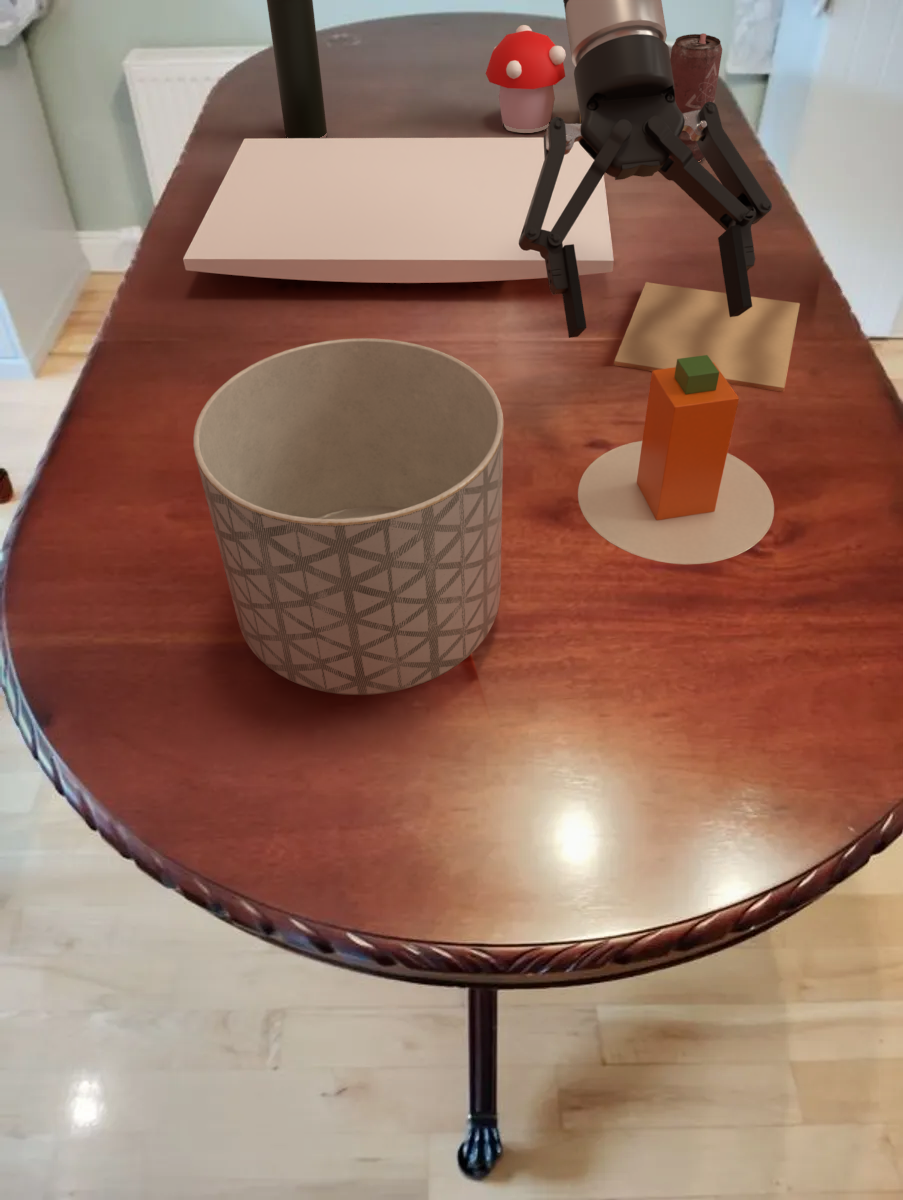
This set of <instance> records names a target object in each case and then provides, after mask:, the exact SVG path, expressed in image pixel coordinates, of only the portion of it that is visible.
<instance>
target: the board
mask: <svg viewBox="0 0 903 1200" xmlns="http://www.w3.org/2000/svg"><path fill="white" fill-rule="evenodd" d="M593 162H594V159H593V158H592V157H591V156H590V155H589V154H588V153H587V152H586V151H585V150H584V149H583V147H582V146H581V145H580V144H579V141H577V142H574V144H573V147H572V148H571V150H570V152H569V153H568V154H566V155H564V158H563V161H562V165H561V168H560V171H559V174H558V177H557V181H556V184H555V187H554V190H553V193H552V196H551V200H550V203H549V206H548V209H547V212H546V215H545V219H544V222H543V225H542V228H541V229H542V230H546V231H550V232H551V230H552V229H553V227H554V225H555V224H556V222H557V220H558V219H559V217H560V216H561V214H562V212H563V211H564V209H565V207H566V206H567V204H568V202H569V201H570V199H571V198H572V196H573V194H574V193H575V191H576V189H577V188H578V186H579V184H580V183H581V181H582V180H583V178H584V176H585V175H586V173H587V171H588V170H589V168H590V167H591V165H592V163H593ZM543 163H544V137H333V138H332V137H327V138H286V137H285V138H284V137H283V138H278V137H277V138H271V137H270V138H269V137H268V138H265V137H264V138H260V137H259V138H244V139H243V141H242V143H241V144H240V146H239V148H238V150H237V152H236V154H235V156H234V158H233V160H232V162H231V163H230V166H229V167H228V170H227V172H226V174H225V176H224V178H223V179H222V182H221V183H220V186H219V188H218V189H217V191H216V193H215V195H214V197H213V199H212V201H211V203H210V205H209V207H208V209H207V211H206V213H205V214H204V217H203V219H202V221H201V223H200V224H199V226H198V228H197V230H196V233H195V235H194V236H193V238H192V240H191V243H190V244H189V246H188V248H187V250H186V252H185V254H184V255H183V258H182V260H183V266H184V269H185V271H188V272H189V271H190V272H200V273H208V274H209V273H210V274H220V275H230V276H231V275H232V276H239V277H240V276H241V277H242V276H243V277H254V278H266V279H278V280H279V279H281V280H297V281H317V282H338V283H339V282H343V283H378V284H379V283H380V284H381V283H383V284H384V283H385V284H386V283H387V284H388V283H390V284H394V283H396V284H421V283H423V284H424V283H429V284H431V283H435V284H436V283H473V282H475V283H476V282H496V281H497V282H499V281H516V280H517V281H519V280H533V279H534V280H535V279H548V276H547V270H546V263H545V259H544V258H542V257H541V255H540V252H538V251H535V250H528V251H525V250H522V249H521V248H520V247H519V239H520V236H521V232H522V229H523V226H524V223H525V220H526V217H527V213H528V210H529V207H530V204H531V201H532V198H533V194H534V191H535V188H536V185H537V182H538V179H539V175H540V172H541V169H542V166H543ZM605 181H606V180H605V174H604V175H603V177H602V178H601V180H600V182H599V183H598V185H597V186H596V188H595V190H594V191H593V193H592V195H591V196H590V198H589V200H588V201H587V203H586V204H585V206H584V208H583V209H582V211H581V213H580V214H579V216H578V218H577V219H576V221H575V222H574V224H573V226H572V227H571V229H570V231H569V232H568V234H567V236H566V237H565V239H564V240H563V242H562V244H563V247H564V245H572V244H574V248H575V255H576V261H577V268H578V274H579V276H586V275H597V274H606V273H613V272H614V264H615V263H614V262H615V260H614V259H615V258H614V250H613V242H612V234H611V233H612V232H611V223H610V217H609V209H608V200H607V199H608V198H607V192H606V182H605Z"/></svg>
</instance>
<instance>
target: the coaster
mask: <svg viewBox="0 0 903 1200" xmlns="http://www.w3.org/2000/svg"><path fill="white" fill-rule="evenodd" d="M751 301H752V307H751V308H749V309H748V310H746V311H745V312H744V313H742V314H741V315H739V316H735V317H730V315H729V309H728V302H727V295H726V292H720V291H712V290H706V289H699V288H693V287H684V286H677V285H669V284H661V283H655V282H654V283H653V282H649V281H645V283H644V286H643V288H642V290H641V293H640V296H639V298H638V300H637V303H636V305H635V308H634V310H633V313H632V316H631V318H630V320H629V323H628V326H627V327H626V331H625V333H624V336H623V338H622V340H621V342H620V345H619V348H618V350H617V353H616V355H615V358H614V360H613V366H616V367H617V366H618V367H623V368H630V369H636V370H642V371H648V372H652V371H653V370H659V369H667V368H674V367H676V363H677V359H681V358H688V357H695V356H703V355H708V357H709V358H710V359H711V361H712V362H714V363H715V365H716V366H717V368H718V369H719V370H720V372H721V373H722V375H723V376H724V377H725V379H726V380H727V382H728V383H729V385H730V384H731V385H737V386H744V387H749V388H757V389H761V390H768V391H774V392H781V393H784V392H785V387H786V382H787V376H788V371H789V366H790V360H791V354H792V349H793V344H794V339H795V332H796V328H797V321H798V317H799V312H800V305H801V303H800V302H794V301H787V300H779V299H772V298H771V299H770V298H764V297H757V296H751Z"/></svg>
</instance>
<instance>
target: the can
mask: <svg viewBox="0 0 903 1200" xmlns="http://www.w3.org/2000/svg"><path fill="white" fill-rule="evenodd" d="M721 42H722V41H721V39H719V38H717V37H716V36H713V35H708V34H707V33H690V34H683V35H681V36H678V37H676V38H675V41H674V43H673V44H672V46H671V49H670V60H671V67H672V74H673V80H674V88H675V101H676V104H677V106H678V108H679V110H680V111H681V112H682V113H686V112H691V111H695V110H699V109H701V108H702V107H703V106H704V104H705V103H707V102H713V103H715V100H716V94H717V87H718V81H719V75H720V68H721V62H722V55H723V47H722V44H721ZM679 139H680V140H681V141H682V142H683V143H684V144H685V145H686V146H687V147H688V148H690V150H691V151H692V153H693V157H694V158H695V159H696V160H697V161H700V160H702V159H703V158H704V159H705V157H704V156H703V154H702V153H701V151H700V149H699V147H698V144H697V141H692V140H691V139H690V135H689V134H688V133H687V132H686V131H682V132H681V134H680V136H679ZM669 158H670V159H671V160H673V161H674V159H673V157H671V156H669ZM704 159H703V160H704ZM703 160H702V161H703Z"/></svg>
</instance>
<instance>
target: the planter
mask: <svg viewBox="0 0 903 1200" xmlns="http://www.w3.org/2000/svg"><path fill="white" fill-rule="evenodd" d="M193 452H194V457H195V461H196V464H197V469H198V472H199V477H200V479H201V484H202V487H203V492H204V496H205V500H206V503H207V506H208V510H209V515H210V518H211V522H212V527H213V530H214V535H215V538H216V542H217V545H218V549H219V550H218V551H219V553H220V557H221V561H222V566H223V568H224V572H225V576H226V580H227V584H228V587H229V588H228V589H229V592H230V595H231V600H232V603H233V607H234V610H235V615H236V619H237V621H238V622H237V623H238V626H239V629H240V632H241V635H242V637H243V639H244V640H245V642H246V644H247V645H248V647H249V648H250V650H251V652H252V653H253V654H254V655H255V656H256V657H257V658H258V660H260V662H262V664H264V665H265V666H266V667H267V668H269V669H270V670H272V671H273V672H275V674H277V675H278V676H281V677H282V678H284V679H286V680H288V681H290V682H292V683H295V684H298V685H300V686H303V687H306V688H307V689H311V690H315V691H319V692H324V693H330V694H336V695H347V696H370V695H380V694H381V695H382V694H388V693H394V692H398V691H402V690H407V689H411V688H413V687H416V686H420V685H423V684H426V683H427V682H430V681H432V680H434V679H437V678H439V677H440V676H442V675H444V674H446V673H447V672H449V671H451V670H452V669H454V668H455V667H457V666H458V665H460V664H461V663H462V662H464V661H465V660H466V659H467V658H468V657H469V656H470V655H472V654H473V653H474V652H475V651H476V650H477V649H478V648H479V646H480V645H482V643H483V642H484V640H485V639H486V637H488V635H489V633H490V631H491V629H492V627H493V625H494V623H495V621H496V618H497V615H498V613H499V608H500V604H501V594H502V593H501V591H502V589H501V588H502V541H503V539H502V536H503V535H502V533H503V532H502V531H503V480H504V477H503V474H504V414H503V409H502V405H501V402H500V400H499V397H498V395H497V394H496V392H495V390H494V388H493V387H492V386H491V384H489V382H488V381H487V380H486V379H485V378H484V377H483V376H482V375H481V374H480V373H479V372H478V371H477V370H475V369H474V368H473V367H471V366H470V365H468V364H467V363H465V362H464V361H462V360H460V359H458V358H456V357H454V356H452V355H451V354H448V353H446V352H443V351H441V350H438V349H436V348H432V347H429V346H425V345H422V344H418V343H413V342H409V341H403V340H397V339H396V340H395V339H387V338H371V337H370V338H367V337H363V338H362V337H361V338H343V339H342V338H341V339H332V340H325V341H320V342H314V343H308V344H305V345H301V346H300V345H299V346H296V347H292V348H290V349H286V350H283V351H281V352H278V353H275V354H272V355H270V356H268V357H265V358H263V359H260V360H259V361H257V362H255V363H252V364H251V365H249V366H247V367H246V368H244V369H242V370H240V371H239V372H238V373H236V374H235V375H233V376H231V378H229V379H228V380H227V381H226V382H225V383H224V384H222V385H221V386H220V387H219V388H217V390H216V391H215V392H214V393H213V394H212V395H211V396H210V398H209V399H208V400H207V402H206V403H205V405H204V406H203V408H202V409H201V411H200V412H199V415H198V417H197V419H196V423H195V426H194V431H193Z"/></svg>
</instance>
